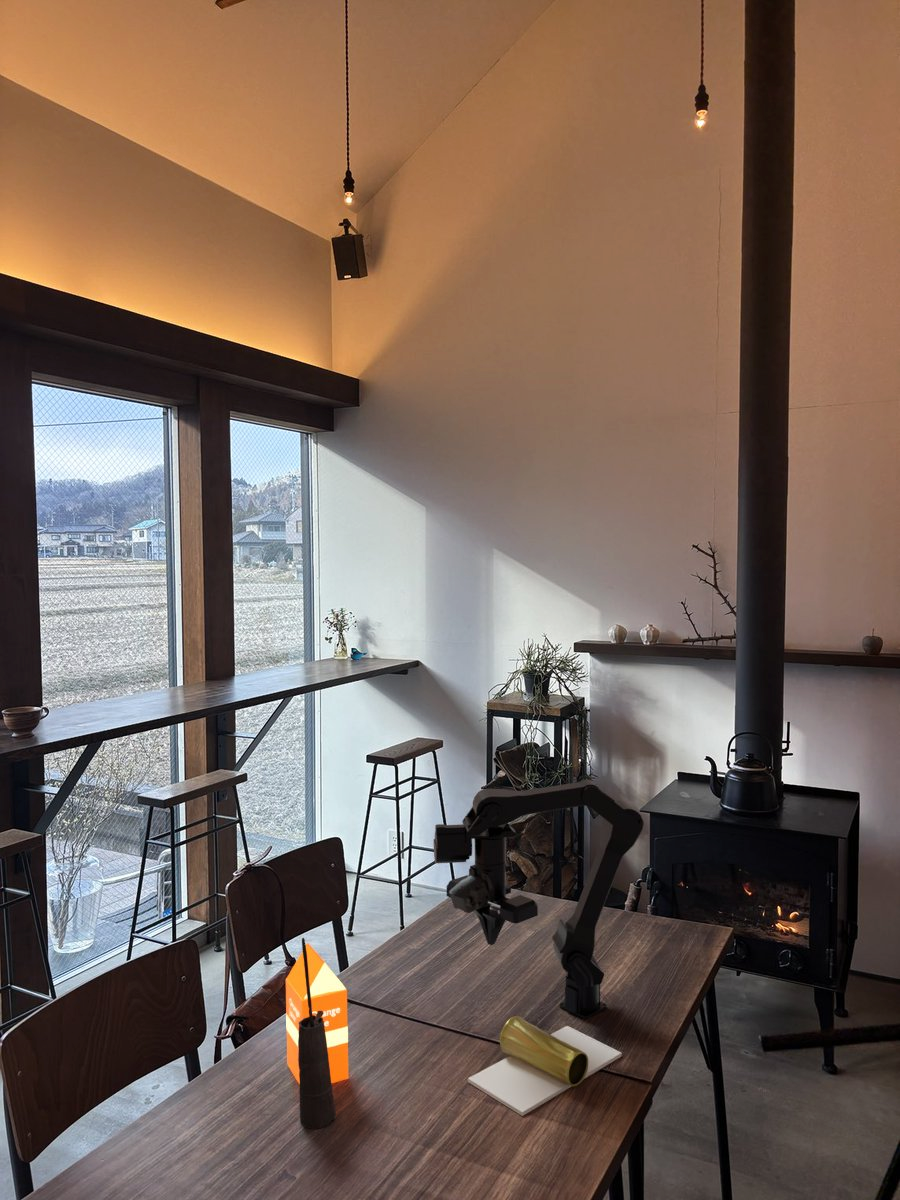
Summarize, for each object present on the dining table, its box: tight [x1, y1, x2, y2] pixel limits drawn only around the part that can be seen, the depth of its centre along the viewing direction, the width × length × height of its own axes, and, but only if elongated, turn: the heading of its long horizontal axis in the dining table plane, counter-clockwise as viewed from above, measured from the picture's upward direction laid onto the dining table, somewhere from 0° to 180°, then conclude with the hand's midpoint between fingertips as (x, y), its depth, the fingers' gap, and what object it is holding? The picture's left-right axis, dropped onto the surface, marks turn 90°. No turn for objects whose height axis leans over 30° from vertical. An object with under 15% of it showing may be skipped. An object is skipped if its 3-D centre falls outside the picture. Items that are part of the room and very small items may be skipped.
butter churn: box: [298, 937, 336, 1130], centre depth 134 cm, size 9×10×28 cm
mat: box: [467, 1025, 623, 1117], centre depth 145 cm, size 24×12×1 cm, turn 132°
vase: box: [499, 1015, 588, 1087], centre depth 145 cm, size 6×6×14 cm
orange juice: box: [285, 942, 349, 1085], centre depth 145 cm, size 8×9×20 cm
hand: (491, 944), depth 163 cm, fingers closed
